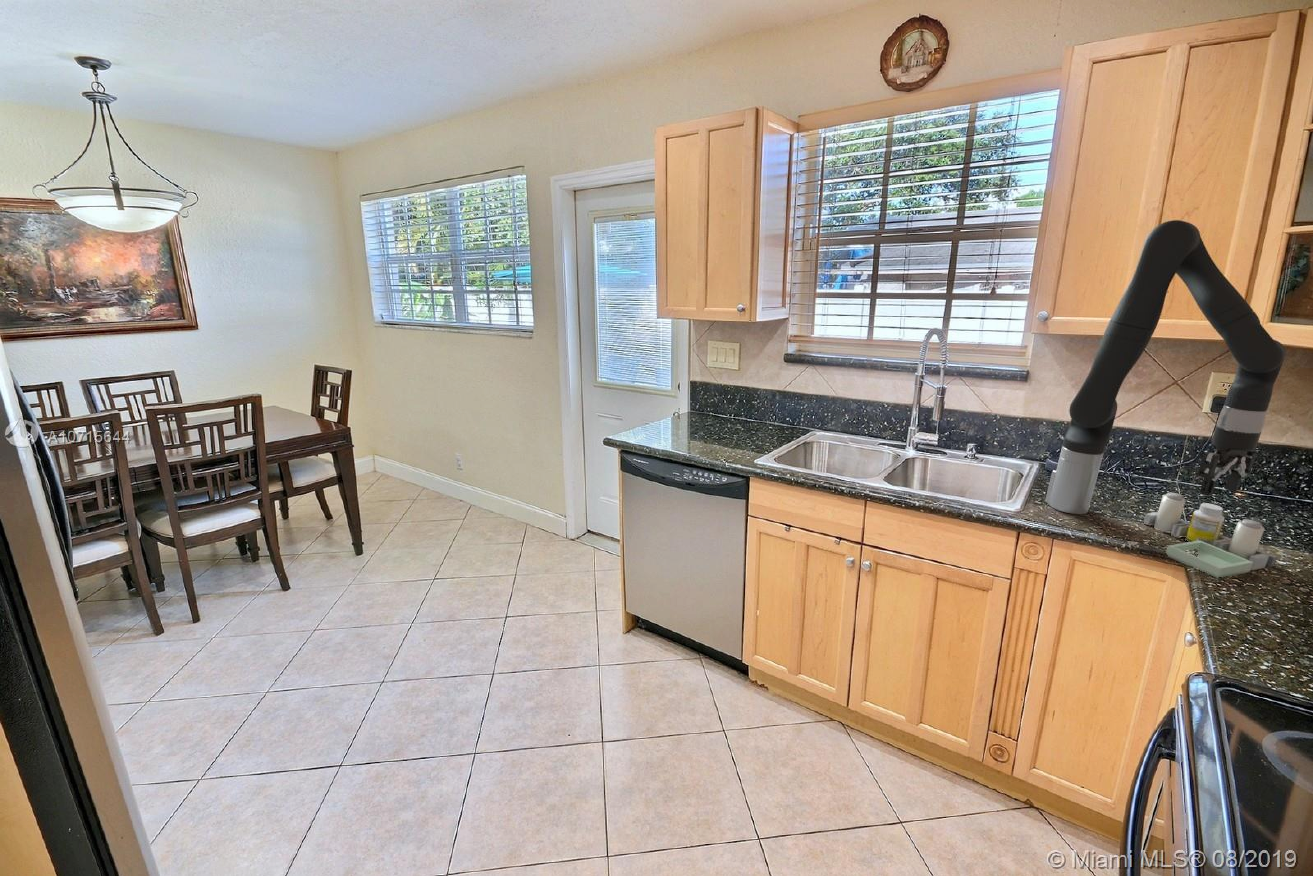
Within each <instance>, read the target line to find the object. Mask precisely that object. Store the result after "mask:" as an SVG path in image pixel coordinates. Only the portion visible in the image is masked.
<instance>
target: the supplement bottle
mask: <svg viewBox="0 0 1313 876" xmlns="http://www.w3.org/2000/svg"><path fill="white" fill-rule="evenodd" d="M1223 511H1224V508H1223V507H1221V506H1220V505H1217V504H1214V503H1213V504H1212V503H1207V502H1205V503H1204V502H1203V503H1200V506H1199V509H1197V510H1194V511H1193V513H1192V516H1191V520H1190V522H1189V523H1190V526H1189V529H1188V532H1187V535H1186V538H1184V540H1185V541H1186V540H1187V541H1189V542H1193V541H1198V540H1200V541H1203V542H1205V543H1208V544H1210V545H1213V542H1214V541H1217V540H1218V537H1219V534H1220V532H1221V531H1222V528H1223V526H1224V521H1225V517H1224V516H1223Z"/></svg>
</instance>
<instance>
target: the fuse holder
mask: <svg viewBox="0 0 1313 876" xmlns="http://www.w3.org/2000/svg"><path fill="white" fill-rule="evenodd" d="M1157 514H1158V511H1155V512H1148V513H1145V515H1144V519H1143V522H1144V523H1145V524H1148V525H1150V524H1154V523H1155V520H1156V517H1157ZM1190 523H1191V522H1189V521H1186V520H1184V519H1181V518H1180V520H1179V523H1178V524H1175V525H1173V528H1172V531H1171V534H1173V535H1175V536H1186V535H1187V532H1188V529H1189V526H1190ZM1231 540H1232V537H1231V538H1230V537H1228V536H1226V535H1224V533H1223V532H1221V531H1220V534H1219V537H1218V540H1217V541H1214V542H1213V545H1212V546H1215V547H1217V548H1220V549H1222V550H1225V551H1228V548H1229V545H1230V543H1231ZM1278 558H1279V557H1278V556H1277V555H1274V554H1271V553H1270V552H1269V553H1268V552H1267V551H1264V550H1262V549H1258V548H1257V550H1256V553H1255V555H1252V556H1250V559H1249V561H1252V562H1253V565H1252V567H1251V570H1250V571H1255V570H1260V569H1264V568H1266V566H1267V567H1269V568H1271V567H1275V565H1276V563H1277V559H1278Z"/></svg>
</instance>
